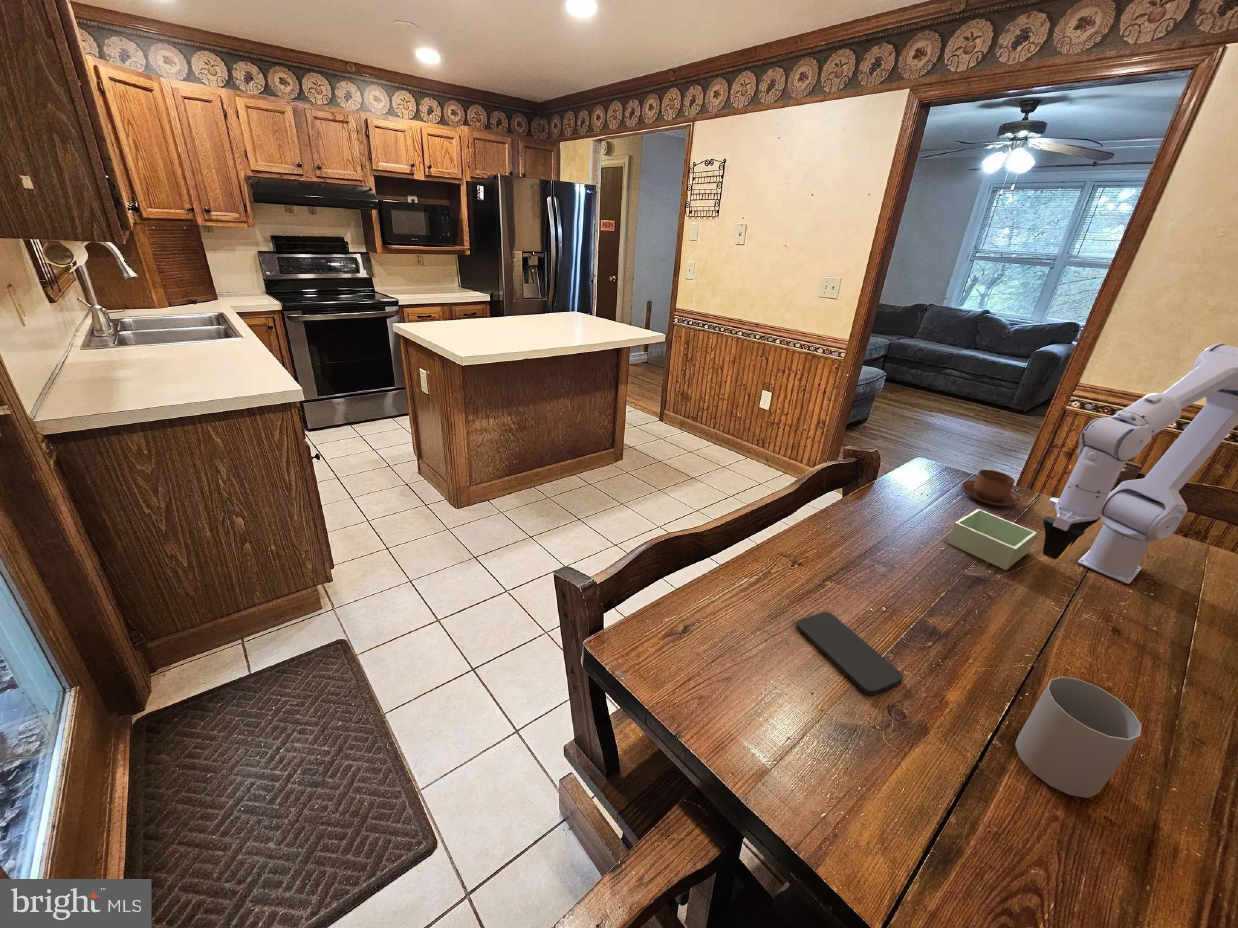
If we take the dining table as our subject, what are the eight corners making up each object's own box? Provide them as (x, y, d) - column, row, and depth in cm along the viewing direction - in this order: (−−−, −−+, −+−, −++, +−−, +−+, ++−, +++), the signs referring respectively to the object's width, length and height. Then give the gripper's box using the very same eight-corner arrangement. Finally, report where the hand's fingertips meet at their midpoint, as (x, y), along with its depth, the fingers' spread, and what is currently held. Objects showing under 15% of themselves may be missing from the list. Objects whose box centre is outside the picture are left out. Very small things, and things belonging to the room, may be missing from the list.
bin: (970, 528, 113) (978, 508, 111) (1027, 553, 105) (1037, 532, 103) (946, 542, 107) (954, 522, 105) (1005, 570, 99) (1015, 549, 97)
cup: (999, 733, 66) (1030, 677, 62) (1057, 730, 67) (1091, 675, 63) (1054, 799, 59) (1094, 741, 54) (1119, 795, 60) (1163, 738, 55)
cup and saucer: (961, 482, 134) (969, 461, 132) (1016, 497, 128) (1026, 475, 126) (957, 499, 125) (966, 477, 123) (1016, 516, 119) (1027, 493, 117)
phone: (828, 610, 85) (907, 677, 73) (827, 614, 85) (905, 681, 73) (793, 621, 82) (869, 693, 70) (792, 625, 82) (868, 697, 70)
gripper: (1074, 468, 96) (1045, 529, 102) (1046, 486, 88) (1016, 551, 94) (1122, 483, 91) (1089, 546, 97) (1097, 504, 83) (1062, 572, 89)
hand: (1056, 550), depth 95 cm, fingers closed on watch, 6 cm apart
